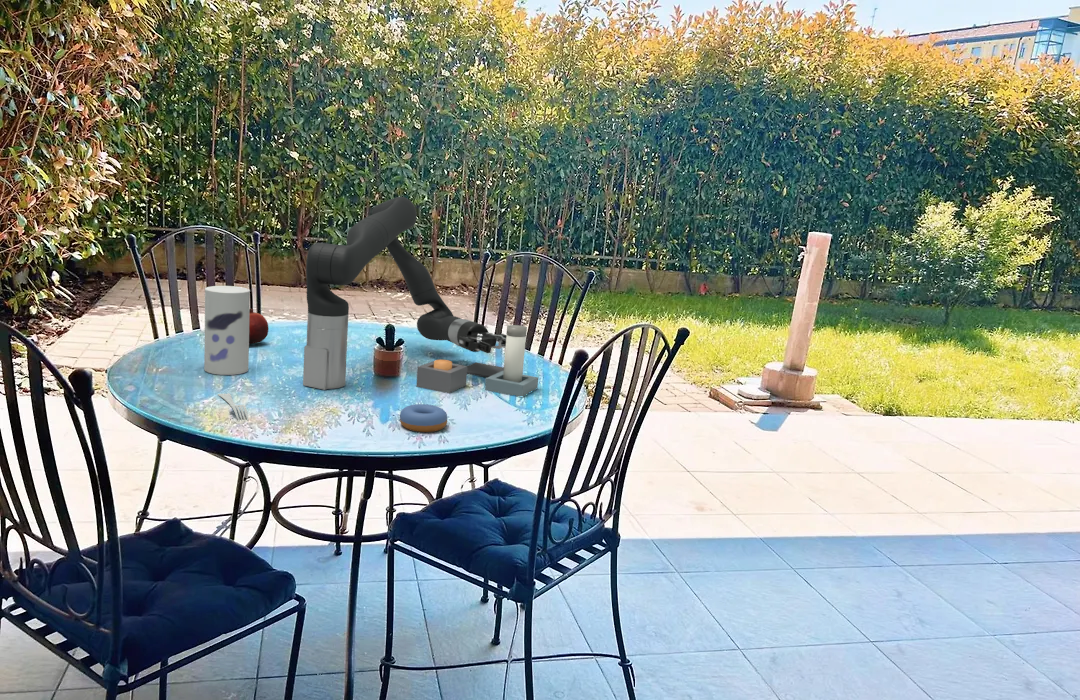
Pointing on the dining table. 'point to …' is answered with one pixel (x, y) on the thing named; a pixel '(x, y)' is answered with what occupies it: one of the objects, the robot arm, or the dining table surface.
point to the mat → (483, 369)
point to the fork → (235, 406)
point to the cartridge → (514, 353)
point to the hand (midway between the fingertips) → (503, 348)
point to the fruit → (257, 327)
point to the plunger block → (441, 377)
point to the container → (226, 330)
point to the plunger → (443, 364)
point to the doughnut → (423, 418)
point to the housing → (511, 385)
